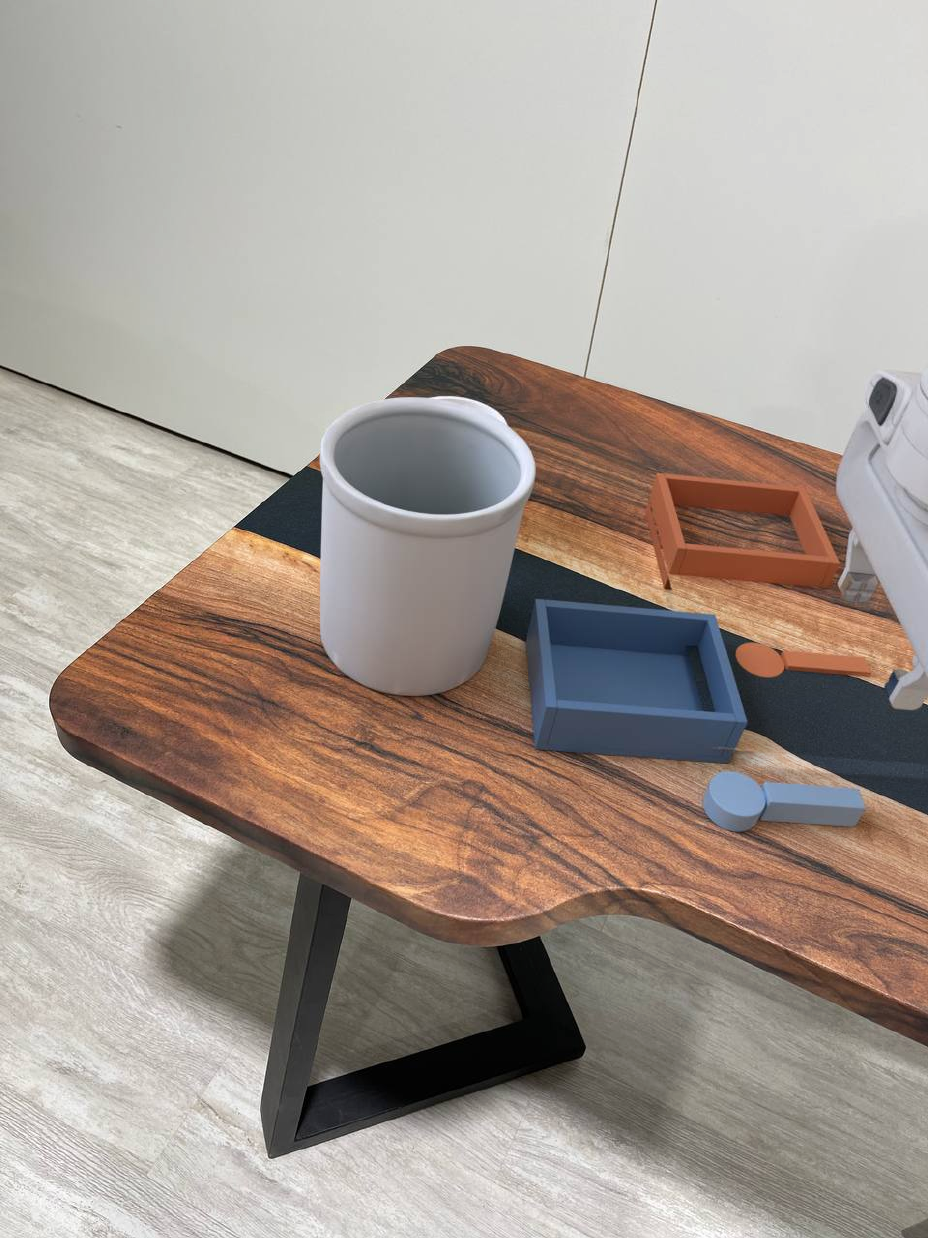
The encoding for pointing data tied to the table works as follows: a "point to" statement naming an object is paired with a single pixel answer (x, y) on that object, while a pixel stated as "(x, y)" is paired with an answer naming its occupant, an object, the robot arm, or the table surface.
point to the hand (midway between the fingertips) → (874, 645)
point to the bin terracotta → (734, 561)
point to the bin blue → (629, 683)
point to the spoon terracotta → (796, 662)
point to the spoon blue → (778, 803)
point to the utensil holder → (417, 540)
